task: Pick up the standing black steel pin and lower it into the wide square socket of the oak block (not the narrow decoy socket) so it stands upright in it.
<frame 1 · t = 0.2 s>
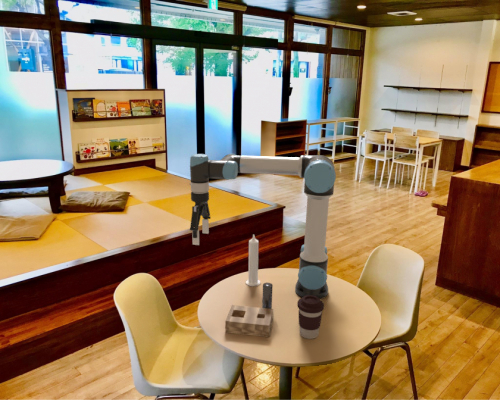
hand: (200, 238, 182), 28 cm above the table, fingers open, 13 cm apart
oak block: (249, 325, 167), on the table
candle: (253, 283, 202), on the table
coffee cup: (308, 334, 163), on the table
steel pin: (266, 312, 177), on the table
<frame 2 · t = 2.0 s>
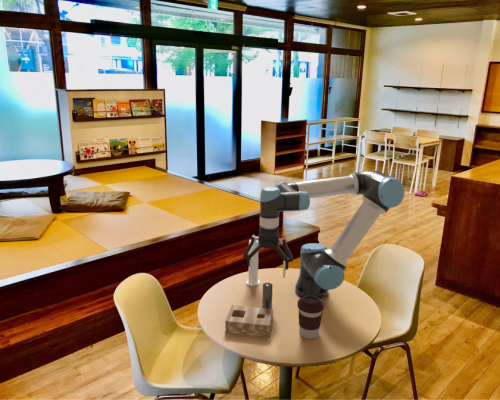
hand: (267, 274, 172), 18 cm above the table, fingers open, 13 cm apart
nothing on the table moved.
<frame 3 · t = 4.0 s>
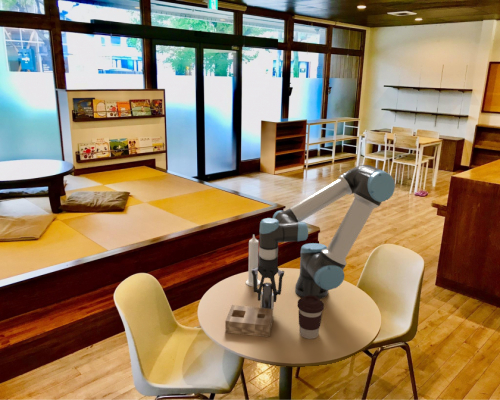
hand: (266, 307, 176), 2 cm above the table, fingers closed on steel pin, 4 cm apart
steel pin: (266, 312, 177), on the table, touching gripper
everything else where it was.
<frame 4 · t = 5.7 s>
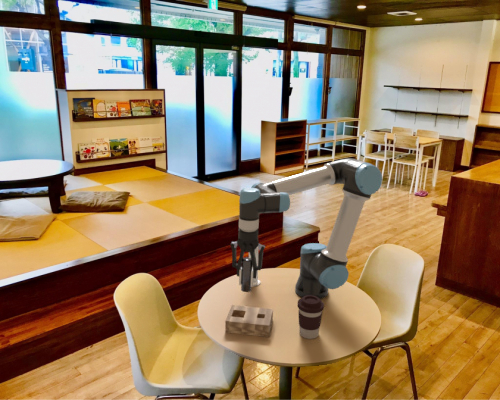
hand: (246, 284, 166), 17 cm above the table, fingers closed on steel pin, 4 cm apart
steel pin: (246, 289, 167), point 14 cm above the table, touching gripper
everything else where it was.
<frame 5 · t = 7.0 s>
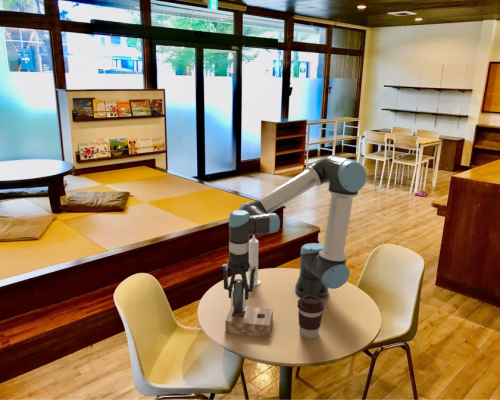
hand: (238, 305, 166), 9 cm above the table, fingers closed on steel pin, 4 cm apart
steel pin: (238, 311, 166), point 6 cm above the table, touching gripper
everything else where it was.
when the fingers open (6 cm above the table, at t = 7.7 s): steel pin drops 1 cm, resting on oak block.
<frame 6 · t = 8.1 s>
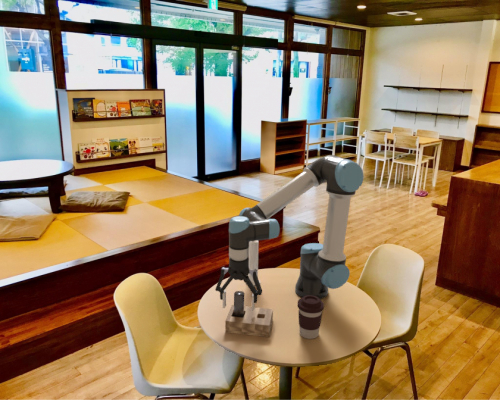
hand: (238, 308, 166), 7 cm above the table, fingers open, 11 cm apart
steel pin: (238, 322, 168), point 1 cm above the table, touching oak block
everything else where it was.
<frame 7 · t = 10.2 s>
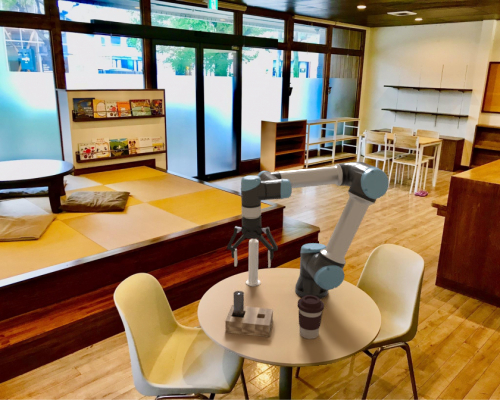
hand: (252, 265, 169), 22 cm above the table, fingers open, 13 cm apart
nothing on the table moved.
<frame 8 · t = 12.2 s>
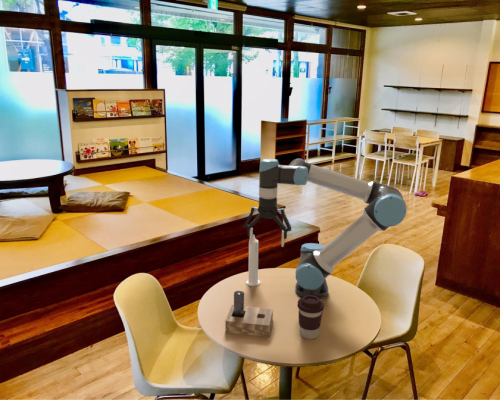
hand: (266, 244, 179), 27 cm above the table, fingers open, 13 cm apart
nothing on the table moved.
at the end: steel pin 0.0 cm from the target spot on the oak block, point 1.0 cm above the oak block's base; steel pin tilted 0°; the gripper is holding nothing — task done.
